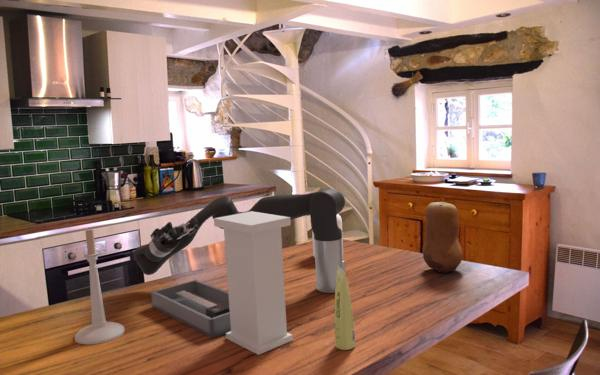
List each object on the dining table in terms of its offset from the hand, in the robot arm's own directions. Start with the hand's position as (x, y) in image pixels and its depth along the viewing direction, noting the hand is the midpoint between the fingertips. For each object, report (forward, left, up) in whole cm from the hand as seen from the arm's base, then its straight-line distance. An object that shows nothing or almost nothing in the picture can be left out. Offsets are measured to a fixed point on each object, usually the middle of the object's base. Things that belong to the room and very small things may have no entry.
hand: (183, 222), depth 153 cm
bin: (-4, +6, -27) cm, 28 cm away
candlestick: (+24, +13, -27) cm, 39 cm away
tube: (-38, +41, -27) cm, 62 cm away
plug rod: (-3, +6, -26) cm, 27 cm away
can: (-56, -42, -27) cm, 75 cm away
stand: (-18, +30, -27) cm, 44 cm away
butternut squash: (-89, -7, -27) cm, 93 cm away
